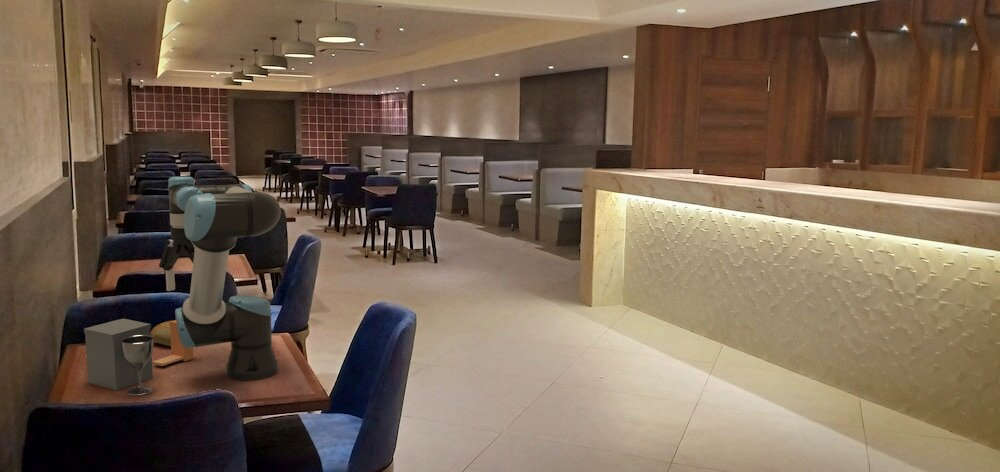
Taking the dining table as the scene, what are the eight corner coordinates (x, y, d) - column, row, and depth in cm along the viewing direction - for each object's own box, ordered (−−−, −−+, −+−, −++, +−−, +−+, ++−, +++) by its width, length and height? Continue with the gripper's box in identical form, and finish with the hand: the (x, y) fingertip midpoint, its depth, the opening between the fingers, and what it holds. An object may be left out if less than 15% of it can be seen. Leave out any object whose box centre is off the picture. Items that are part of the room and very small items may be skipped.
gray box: (154, 377, 225) (151, 323, 223) (115, 390, 214) (112, 334, 211) (127, 370, 231) (123, 318, 228) (87, 383, 219) (83, 328, 217)
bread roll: (165, 338, 263) (163, 316, 262) (199, 344, 258) (198, 321, 257) (142, 346, 255) (141, 322, 253) (177, 352, 249) (176, 328, 248)
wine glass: (118, 393, 212) (114, 341, 210) (140, 384, 220) (137, 333, 217) (140, 397, 209) (137, 344, 207) (162, 388, 217) (159, 337, 214)
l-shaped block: (193, 358, 242) (191, 321, 240) (164, 368, 232) (162, 330, 230) (180, 355, 244) (178, 319, 242) (150, 365, 235) (148, 327, 233)
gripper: (222, 227, 237) (225, 294, 240) (164, 221, 247) (167, 285, 250) (204, 230, 230) (207, 299, 233) (144, 224, 240) (148, 290, 243)
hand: (186, 292), depth 242 cm, fingers open, 13 cm apart
